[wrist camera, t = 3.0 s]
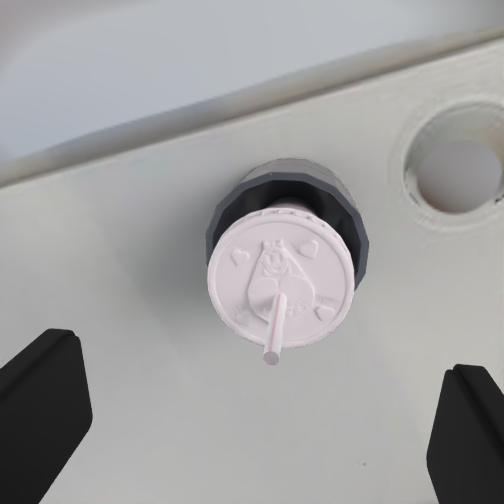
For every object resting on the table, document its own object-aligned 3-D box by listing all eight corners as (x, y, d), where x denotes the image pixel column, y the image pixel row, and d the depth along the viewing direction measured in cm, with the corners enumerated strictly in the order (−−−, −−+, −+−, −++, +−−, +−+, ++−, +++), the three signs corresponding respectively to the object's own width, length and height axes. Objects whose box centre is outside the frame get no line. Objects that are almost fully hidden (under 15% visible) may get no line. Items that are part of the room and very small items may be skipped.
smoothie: (249, 273, 27) (194, 425, 14) (233, 182, 25) (150, 260, 12) (343, 264, 26) (378, 420, 13) (334, 168, 24) (365, 236, 11)
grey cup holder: (361, 160, 24) (377, 175, 18) (348, 284, 26) (358, 331, 21) (227, 156, 25) (203, 169, 19) (228, 276, 28) (207, 318, 22)
